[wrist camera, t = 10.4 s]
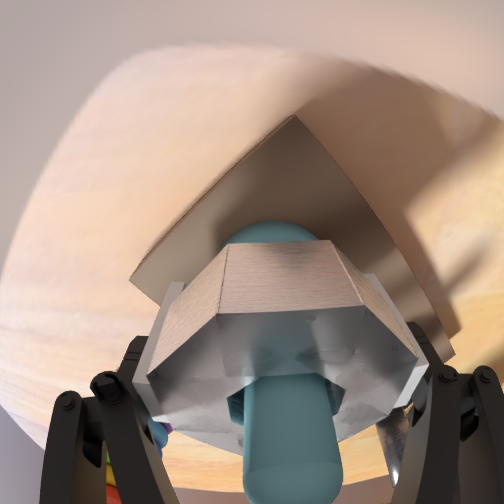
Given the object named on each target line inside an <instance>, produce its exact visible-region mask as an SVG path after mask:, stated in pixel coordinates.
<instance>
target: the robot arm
mask: <svg viewBox="0 0 504 504" xmlns="http://www.w3.org/2000/svg"><path fill="white" fill-rule="evenodd" d="M363 275H364V276H365V277H366V278H367V279H368V280H369V281H370V282H371V283H372V285H373V286H374V287H375V288H376V289H377V290H378V291H379V292H380V293H381V294H382V295H383V297H384V298H385V300H386V302H387V303H388V305H389V307H390V308H391V310H392V312H393V313H394V315H395V317H396V318H397V320H398V322H399V323H400V325H401V327H402V329H403V330H404V332H405V334H406V336H407V337H408V339H409V341H410V343H411V344H412V346H413V348H414V350H415V352H416V353H417V355H418V357H419V360H418V361H417V363H416V366H415V368H414V370H413V372H412V374H411V376H410V378H409V380H408V382H407V384H406V385H405V387H404V389H403V391H402V393H401V395H400V397H399V398H398V400H397V402H396V404H395V405H394V407H393V408H397V407H401V406H405V405H407V403H408V401H409V400H410V398H412V401H413V403H414V404H413V406H412V407H411V409H410V410H409V412H408V413H407V415H406V417H405V419H408V417H409V416H410V419H409V426H408V432H407V437H406V443H405V448H404V453H403V457H402V462H401V466H400V470H399V474H398V478H397V482H396V486H395V490H394V493H393V497H392V500H391V501H389V502H386V503H383V504H504V394H503V391H502V388H501V385H500V383H499V380H498V378H497V375H496V373H495V372H494V370H492V369H491V368H490V367H488V366H479V367H477V368H476V369H475V371H474V372H473V374H459V373H458V372H457V371H456V369H454V368H453V367H451V366H449V365H444V364H443V362H442V361H441V359H440V357H439V356H438V354H437V352H436V350H435V349H434V347H433V346H432V344H431V343H430V341H429V339H428V337H426V334H425V333H424V331H423V329H422V328H421V327H420V326H419V325H418V324H416V323H415V322H414V321H411V322H405V321H404V319H403V318H402V316H401V314H400V313H399V311H398V310H397V308H396V306H395V305H394V303H393V302H392V300H391V298H390V297H389V295H388V294H387V292H386V291H385V289H384V288H383V286H382V285H381V283H380V282H379V280H378V279H377V277H376V276H375V274H374V273H370V274H363ZM185 288H186V283H185V282H171V283H170V286H169V288H168V290H167V293H166V295H165V297H164V300H163V302H162V305H161V307H160V310H159V312H158V314H157V317H156V319H155V322H154V324H153V327H152V329H151V332H150V335H149V336H136V337H135V338H134V339H133V340H132V341H131V342H130V344H129V346H128V349H127V351H126V353H125V356H124V358H123V360H122V363H121V365H120V367H119V370H118V372H117V373H116V372H113V371H104V372H102V373H99V374H98V375H96V376H95V377H94V378H93V380H92V381H91V384H90V389H91V390H92V392H93V393H94V395H95V396H94V397H85V398H82V397H81V396H80V395H79V394H78V393H77V392H75V391H65V392H63V393H61V394H60V395H59V396H58V397H57V399H56V401H55V404H54V408H53V413H52V417H51V422H50V427H49V432H48V437H47V443H46V449H45V455H44V462H43V469H42V478H41V489H40V502H39V504H107V491H106V475H107V451H108V455H109V460H110V464H111V468H112V472H113V476H114V480H115V483H116V487H117V490H118V494H119V497H120V500H121V503H122V504H180V503H179V501H178V499H177V496H176V494H175V492H174V489H173V487H172V485H171V482H170V480H169V477H168V475H167V472H166V470H165V467H164V465H163V462H162V459H161V457H160V454H159V451H158V448H157V445H156V443H155V440H154V437H153V434H152V430H151V427H150V426H149V424H148V420H149V416H151V417H152V419H153V421H157V422H166V423H169V421H168V419H167V417H166V415H165V413H164V411H163V410H162V408H161V406H160V404H159V402H158V400H157V398H156V396H155V394H154V392H153V390H152V387H151V385H150V383H149V381H148V379H147V377H146V373H147V370H148V367H149V364H150V361H151V358H152V355H153V352H154V349H155V346H156V343H157V341H158V338H159V335H160V332H161V329H162V326H163V324H164V321H165V318H166V315H167V313H168V310H169V307H170V305H171V303H172V302H173V301H174V300H175V299H176V298H177V297H178V296H179V295H180V294H181V293H182V292H183V290H184V289H185Z"/></svg>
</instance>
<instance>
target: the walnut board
mask: <svg viewBox="0 0 504 504" xmlns="http://www.w3.org/2000/svg"><path fill="white" fill-rule="evenodd" d="M268 220H279V221H287V222H291V223H294V224H297V225H300V226H302V227H304V228H305V229H307V230H309V231H310V232H311V233H313V234H314V235H315V236H316V237H317V238H318V239H319V240H331V242H332V243H333V244H334V245H335V246H336V247H337V248H338V249H339V250H340V251H341V252H342V253H343V254H344V255H345V256H346V257H347V258H348V259H349V260H350V261H351V262H352V263H353V265H354V266H355V267H356V268H357V269H358V270H359V271H360V272H361V273H362V274H370V273H374V274H375V276H376V277H377V279H378V280H379V282H380V283H381V285H382V286H383V288H384V289H385V291H386V292H387V294H388V295H389V297H390V298H391V300H392V302H393V303H394V305H395V306H396V308H397V310H398V311H399V313H400V314H401V316H402V318H403V319H404V321H405V322H411V321H414V322H415V323H416V324H418V325H419V326H420V327H421V328H422V329H423V331H424V333H425V334H426V337H428V339H429V341H430V343H431V344H432V346H433V347H434V349H435V350H436V352H437V354H438V356H439V357H440V359H441V361H442V362H443V364H444V363H445V362H447V361H448V360H449V359H451V358H452V357H453V356H454V355H456V354H455V352H454V350H453V348H452V345H451V343H450V341H449V339H448V337H447V335H446V333H445V331H444V329H443V327H442V325H441V323H440V321H439V319H438V317H437V315H436V313H435V311H434V309H433V307H432V305H431V304H430V302H429V300H428V298H427V296H426V294H425V293H424V291H423V289H422V287H421V286H420V284H419V282H418V280H417V279H416V277H415V275H414V274H413V272H412V270H411V269H410V267H409V265H408V264H407V262H406V260H405V259H404V257H403V255H402V254H401V252H400V251H399V249H398V248H397V246H396V244H395V243H394V241H393V240H392V238H391V237H390V235H389V234H388V232H387V231H386V229H385V228H384V226H383V225H382V223H381V222H380V220H379V219H378V218H377V216H376V215H375V213H374V212H373V210H372V209H371V208H370V206H369V205H368V203H367V202H366V201H365V199H364V198H363V197H362V195H361V194H360V193H359V191H358V190H357V189H356V187H355V186H354V185H353V183H352V182H351V181H350V179H349V178H348V177H347V176H346V174H345V173H344V172H343V170H342V169H341V168H340V167H339V165H338V164H337V163H336V162H335V160H334V159H333V158H332V157H331V156H330V154H329V153H328V152H327V151H326V150H325V148H324V147H323V146H322V145H321V144H320V143H319V141H318V140H317V139H316V138H315V137H314V136H313V134H312V133H311V132H310V131H309V130H308V129H307V128H306V127H305V125H304V124H303V123H302V122H301V121H300V120H299V119H298V118H297V117H296V116H290V117H289V118H287V119H286V120H285V121H284V122H283V123H282V124H280V125H279V126H278V127H277V128H276V129H275V130H274V131H272V132H271V133H270V134H269V135H268V136H267V137H266V138H265V139H263V140H262V141H261V142H260V143H259V144H258V145H257V146H256V147H255V148H253V149H252V150H251V151H250V152H249V153H248V154H247V155H246V156H245V157H244V158H243V159H241V160H240V161H239V162H238V163H237V164H236V165H235V166H234V167H233V168H232V169H231V170H230V171H229V172H228V173H227V174H226V175H225V176H224V177H222V178H221V179H220V180H219V181H218V182H217V183H216V184H215V185H214V186H213V187H212V188H211V189H210V190H209V191H208V192H207V193H206V194H205V195H204V196H203V197H202V198H201V199H200V200H199V201H198V202H197V203H196V204H195V205H194V206H193V207H192V208H191V209H190V210H189V211H188V212H187V213H186V214H185V215H184V216H183V218H182V219H181V220H180V221H179V222H178V223H177V224H176V225H175V226H174V227H173V228H172V229H171V230H170V231H169V232H168V233H167V234H166V235H165V236H164V238H163V239H162V240H161V241H160V242H159V243H158V244H157V245H156V246H155V247H154V248H153V250H152V251H151V252H150V253H149V254H148V255H147V256H146V257H145V258H144V260H143V261H142V262H141V263H140V264H139V265H138V267H137V268H136V270H135V271H134V273H133V274H132V276H131V277H130V279H129V281H130V282H131V283H132V284H133V285H135V286H136V287H137V288H138V289H139V290H141V291H142V292H143V293H144V294H145V295H147V296H148V297H149V298H150V299H152V300H153V301H154V302H155V303H157V304H158V305H159V306H160V307H161V305H162V302H163V300H164V297H165V295H166V293H167V290H168V288H169V286H170V283H171V282H185V283H186V287H187V286H188V285H189V284H190V283H191V282H192V281H193V280H194V279H195V278H196V277H197V276H198V275H199V274H200V272H201V271H202V270H203V269H204V268H205V267H206V266H207V265H208V264H209V263H210V262H211V261H212V260H213V259H214V258H215V257H216V256H217V255H218V253H219V251H220V249H221V247H222V246H223V244H224V243H225V242H226V241H227V240H228V239H229V238H230V237H231V236H232V235H233V234H234V233H236V232H237V231H239V230H240V229H242V228H244V227H246V226H248V225H251V224H254V223H257V222H262V221H268Z"/></svg>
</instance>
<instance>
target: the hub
mask: <svg viewBox="0 0 504 504" xmlns="http://www.w3.org/2000/svg"><path fill="white" fill-rule="evenodd" d="M314 240H319V239H318V238H317V237H316V236H315V235H314V234H313V233H311V232H310V231H309V230H307V229H305V228H304V227H302V226H300V225H297V224H294V223H291V222H287V221H279V220H268V221H262V222H257V223H254V224H251V225H248V226H246V227H244V228H242V229H240V230H239V231H237V232H236V233H234V234H233V235H232V236H231V237H230V238H229V239H228V240H227V241H226V242H225V243H224V244H223V246H222V247H221V249H220V251H219V253H220V252H221V251H222V250H223V248H224V247H225V246H226V245H227V244H228V243H229V244H236V243H260V242H287V241H314ZM219 253H218V254H219ZM342 482H343V468H342V462H341V457H340V452H339V447H338V442H337V437H336V432H335V427H334V422H333V417H332V412H331V408H330V403H329V398H328V394H327V389H326V385H325V380H324V377H323V376H322V375H320V374H318V373H306V374H293V375H277V376H261V377H260V378H258V379H257V380H255V381H253V382H252V383H250V384H249V385H247V386H245V390H244V437H243V487H244V491H245V494H246V496H247V498H248V500H249V501H250V503H251V504H331V503H332V502H333V501H334V500H335V498H336V497H337V495H338V494H339V492H340V489H341V486H342Z"/></svg>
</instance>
